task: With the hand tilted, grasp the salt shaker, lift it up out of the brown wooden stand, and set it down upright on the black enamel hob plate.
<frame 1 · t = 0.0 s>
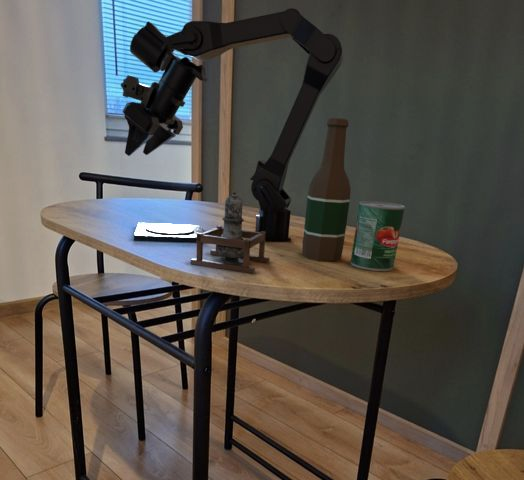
hand: (136, 154, 102), 15 cm above the table, tool tilted 35°, fingers open, 9 cm apart
canned tomato: (371, 266, 87), on the table
hob plate: (170, 234, 100), on the table
beer bottle: (321, 257, 91), on the table
salt shaker: (231, 264, 81), on the table
brown wooden stand: (231, 262, 81), on the table
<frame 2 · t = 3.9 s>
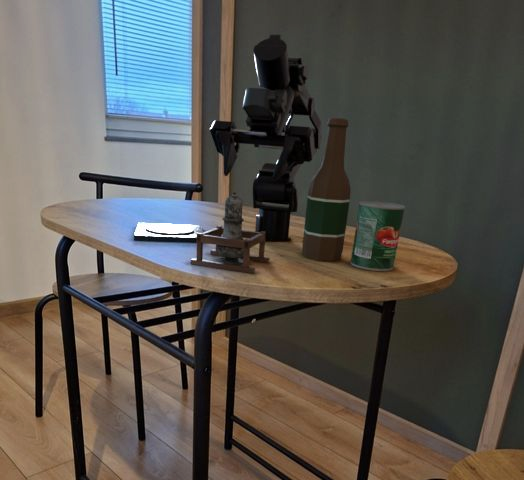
hand: (249, 176, 83), 14 cm above the table, tool tilted 45°, fingers open, 9 cm apart
nothing on the table moved.
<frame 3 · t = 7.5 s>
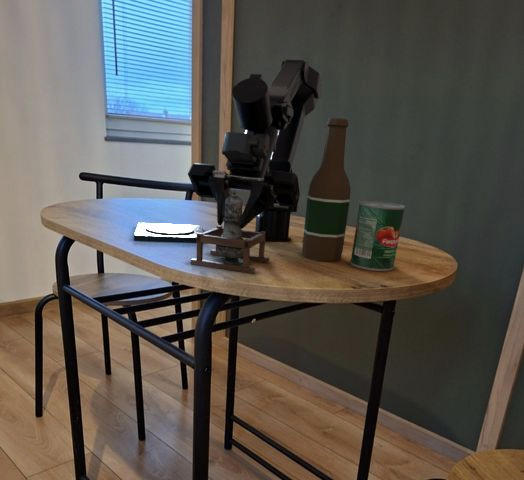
hand: (229, 225, 77), 7 cm above the table, tool tilted 45°, fingers closed on salt shaker, 3 cm apart
salt shaker: (231, 264, 81), on the table, touching gripper
everything else where it was.
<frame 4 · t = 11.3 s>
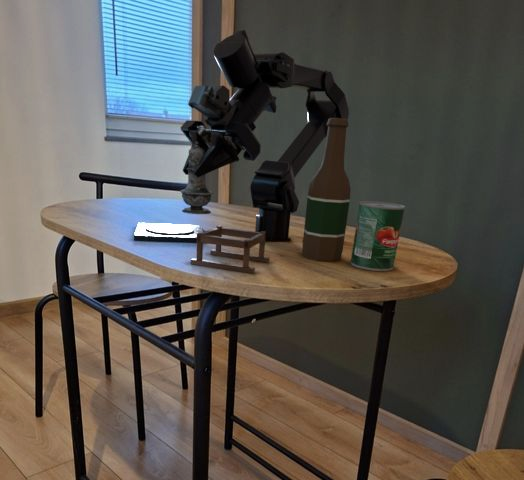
hand: (189, 174, 83), 13 cm above the table, tool tilted 45°, fingers closed on salt shaker, 3 cm apart
salt shaker: (196, 213, 87), point 7 cm above the table, touching gripper
everything else where it was.
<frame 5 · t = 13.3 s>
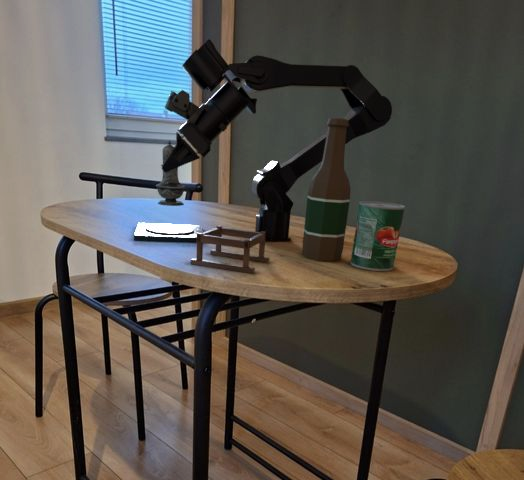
hand: (163, 169, 94), 13 cm above the table, tool tilted 45°, fingers closed on salt shaker, 3 cm apart
salt shaker: (170, 205, 97), point 6 cm above the table, touching gripper
everything else where it was.
when the fingers open (8 cm above the table, at t = 15.0 s): salt shaker stays where it is, resting on hob plate.
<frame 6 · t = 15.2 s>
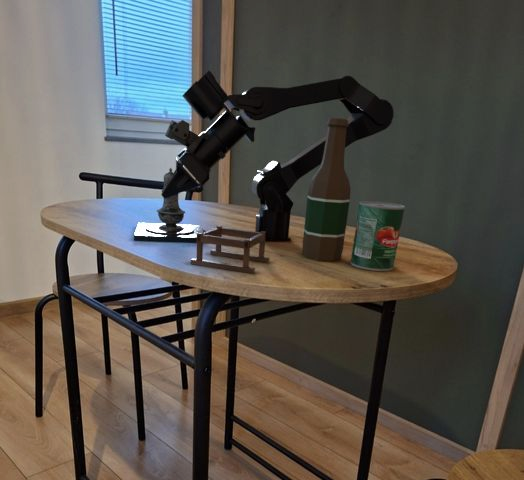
hand: (163, 195, 96), 8 cm above the table, tool tilted 45°, fingers open, 5 cm apart
salt shaker: (171, 229, 99), point 1 cm above the table, touching hob plate
everything else where it was.
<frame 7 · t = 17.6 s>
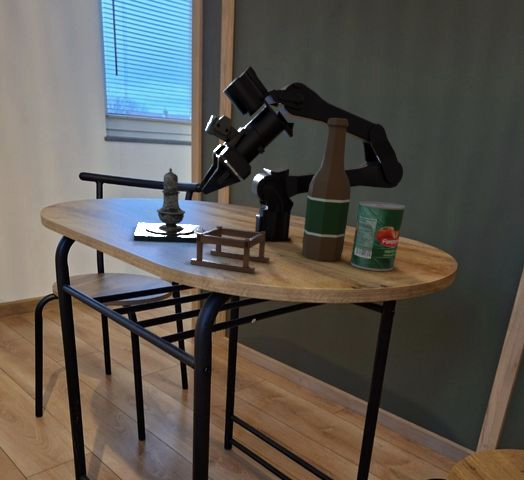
hand: (201, 190, 97), 9 cm above the table, tool tilted 45°, fingers open, 9 cm apart
nothing on the table moved.
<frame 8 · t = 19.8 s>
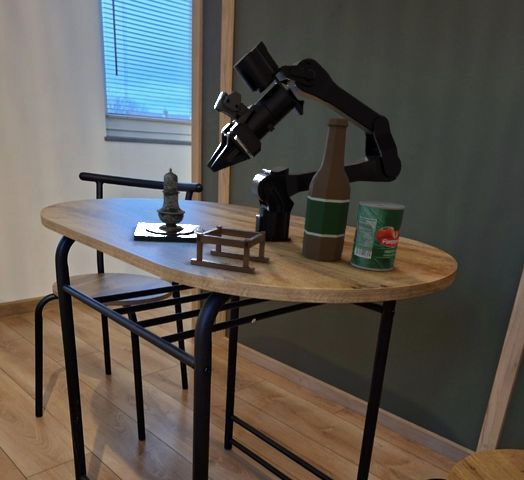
hand: (210, 168, 96), 14 cm above the table, tool tilted 45°, fingers open, 9 cm apart
nothing on the table moved.
at the end: salt shaker inside the target area on the hob plate (0.2 cm from its centre), point 1.1 cm above the hob plate's base; salt shaker tilted 0° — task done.
